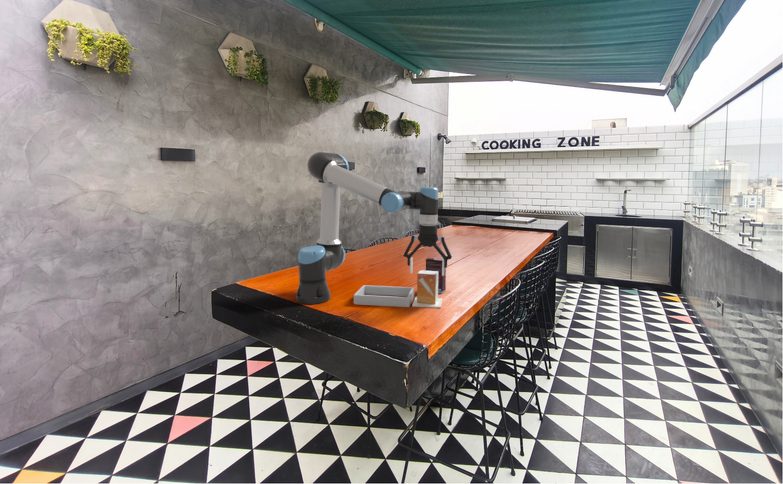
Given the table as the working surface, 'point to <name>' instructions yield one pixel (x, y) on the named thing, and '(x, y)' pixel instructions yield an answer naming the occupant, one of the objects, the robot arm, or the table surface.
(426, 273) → the small box
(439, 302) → the tile
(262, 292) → the table surface
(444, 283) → the supplement box
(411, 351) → the table surface
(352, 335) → the table surface
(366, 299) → the bin
